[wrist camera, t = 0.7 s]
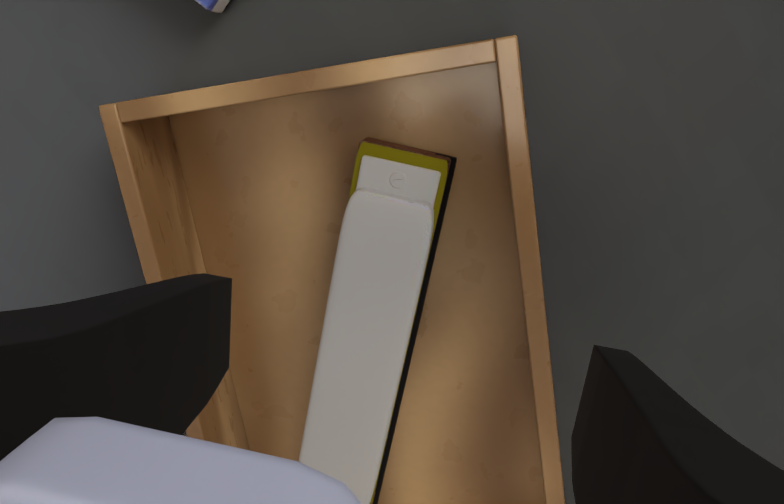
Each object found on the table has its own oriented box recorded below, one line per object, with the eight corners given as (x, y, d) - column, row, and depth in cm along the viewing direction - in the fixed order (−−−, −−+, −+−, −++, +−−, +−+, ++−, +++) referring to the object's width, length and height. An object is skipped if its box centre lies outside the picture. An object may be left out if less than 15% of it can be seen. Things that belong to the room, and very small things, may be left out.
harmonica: (374, 520, 25) (364, 557, 23) (298, 499, 26) (283, 535, 24) (458, 155, 21) (454, 165, 19) (366, 135, 21) (353, 142, 19)
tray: (268, 562, 27) (238, 630, 24) (154, 99, 22) (96, 105, 19) (567, 556, 25) (578, 629, 22) (513, 38, 20) (517, 34, 17)
